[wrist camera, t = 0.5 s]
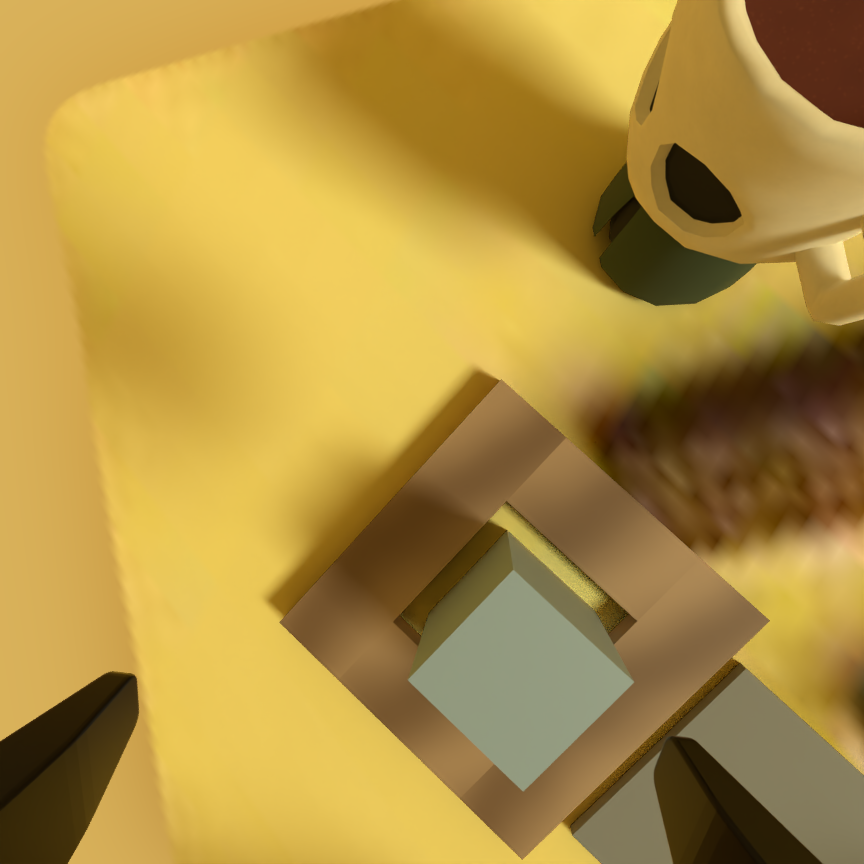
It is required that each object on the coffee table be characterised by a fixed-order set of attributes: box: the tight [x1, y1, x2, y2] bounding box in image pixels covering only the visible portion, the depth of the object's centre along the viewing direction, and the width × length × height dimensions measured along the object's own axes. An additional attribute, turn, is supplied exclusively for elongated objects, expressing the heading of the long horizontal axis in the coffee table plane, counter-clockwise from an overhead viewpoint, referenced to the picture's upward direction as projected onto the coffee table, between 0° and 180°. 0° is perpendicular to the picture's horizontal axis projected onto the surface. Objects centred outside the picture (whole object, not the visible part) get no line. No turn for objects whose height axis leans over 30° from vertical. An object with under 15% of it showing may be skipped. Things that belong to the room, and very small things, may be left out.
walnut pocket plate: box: [280, 380, 770, 860], centre depth 22 cm, size 14×14×1 cm
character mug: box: [593, 0, 864, 326], centre depth 15 cm, size 11×7×13 cm, turn 13°
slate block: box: [408, 530, 634, 791], centre depth 19 cm, size 5×5×6 cm
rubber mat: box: [571, 663, 864, 864], centre depth 21 cm, size 10×10×1 cm
